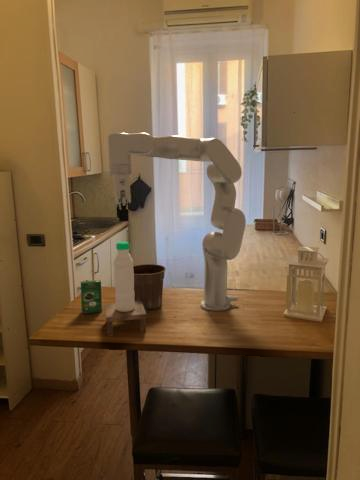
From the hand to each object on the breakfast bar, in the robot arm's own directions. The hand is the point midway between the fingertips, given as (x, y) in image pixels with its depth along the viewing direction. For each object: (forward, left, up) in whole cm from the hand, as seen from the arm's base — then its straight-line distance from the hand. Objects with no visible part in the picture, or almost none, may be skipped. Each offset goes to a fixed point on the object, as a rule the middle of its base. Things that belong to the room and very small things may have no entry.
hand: (122, 219), depth 135 cm
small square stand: (+1, +1, -40) cm, 40 cm away
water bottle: (0, +1, -33) cm, 33 cm away
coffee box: (+13, -17, -40) cm, 45 cm away
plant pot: (-10, -19, -40) cm, 46 cm away
